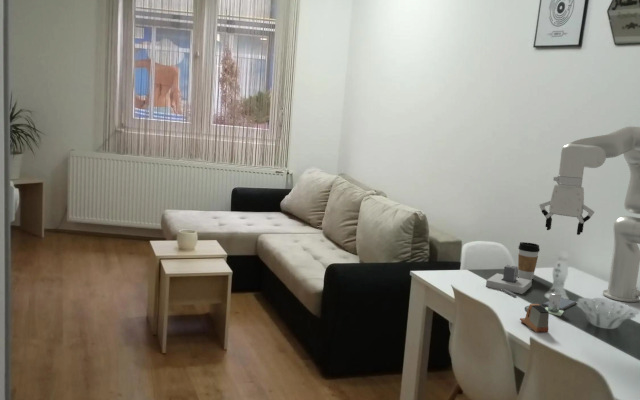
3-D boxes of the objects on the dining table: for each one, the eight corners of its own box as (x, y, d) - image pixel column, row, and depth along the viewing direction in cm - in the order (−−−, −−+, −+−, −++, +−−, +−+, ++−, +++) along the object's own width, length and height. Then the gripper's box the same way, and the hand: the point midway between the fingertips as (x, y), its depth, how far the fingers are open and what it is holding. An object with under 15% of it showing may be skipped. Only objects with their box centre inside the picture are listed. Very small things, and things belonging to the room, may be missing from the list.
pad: (564, 311, 205) (564, 310, 205) (560, 316, 200) (560, 315, 200) (546, 307, 209) (546, 306, 209) (542, 311, 204) (542, 311, 204)
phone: (576, 305, 216) (577, 301, 216) (561, 312, 206) (561, 309, 206) (557, 299, 221) (558, 296, 221) (541, 306, 211) (542, 303, 211)
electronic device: (530, 321, 193) (533, 299, 192) (549, 333, 184) (552, 309, 182) (519, 322, 192) (521, 299, 191) (536, 333, 183) (539, 310, 181)
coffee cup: (510, 276, 249) (514, 241, 247) (525, 275, 253) (529, 240, 251) (525, 281, 242) (529, 246, 239) (540, 280, 245) (544, 245, 243)
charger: (515, 286, 234) (517, 266, 233) (512, 288, 230) (514, 267, 229) (505, 284, 236) (507, 264, 235) (502, 286, 233) (504, 265, 231)
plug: (559, 311, 205) (562, 294, 204) (557, 313, 202) (559, 296, 201) (549, 308, 207) (551, 291, 206) (546, 310, 204) (548, 293, 203)
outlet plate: (531, 286, 235) (532, 280, 235) (522, 294, 224) (523, 287, 223) (496, 279, 243) (497, 273, 242) (485, 286, 231) (486, 280, 231)
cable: (516, 297, 219) (516, 295, 219) (514, 297, 219) (514, 295, 219) (503, 290, 226) (503, 288, 226) (501, 291, 226) (501, 288, 226)
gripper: (540, 179, 199) (534, 229, 202) (596, 185, 190) (589, 237, 193) (545, 178, 206) (539, 226, 208) (599, 184, 196) (592, 234, 199)
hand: (563, 231), depth 200 cm, fingers open, 9 cm apart
